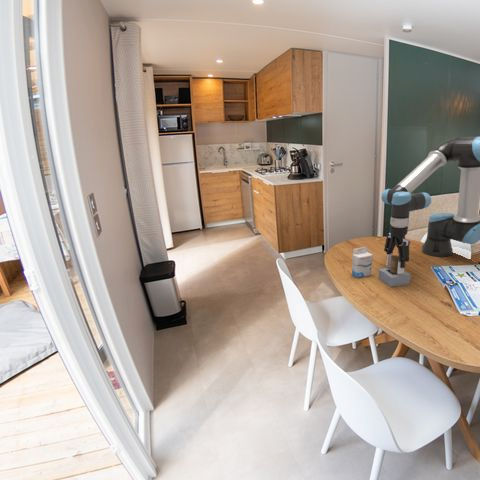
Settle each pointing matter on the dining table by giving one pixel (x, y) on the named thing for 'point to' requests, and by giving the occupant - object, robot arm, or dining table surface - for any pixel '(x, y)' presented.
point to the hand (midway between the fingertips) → (394, 269)
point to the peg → (394, 264)
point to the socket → (394, 277)
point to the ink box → (361, 262)
